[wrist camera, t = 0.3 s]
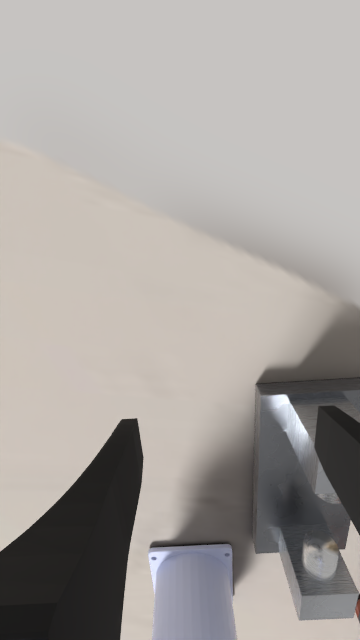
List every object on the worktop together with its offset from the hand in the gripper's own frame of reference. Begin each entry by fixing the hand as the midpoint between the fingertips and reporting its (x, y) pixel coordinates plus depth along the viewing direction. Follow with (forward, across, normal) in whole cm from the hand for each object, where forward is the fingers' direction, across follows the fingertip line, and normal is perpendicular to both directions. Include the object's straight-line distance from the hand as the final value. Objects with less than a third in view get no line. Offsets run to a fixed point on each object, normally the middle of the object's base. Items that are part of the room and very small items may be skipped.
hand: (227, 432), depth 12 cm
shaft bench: (+10, -7, +13) cm, 18 cm away
